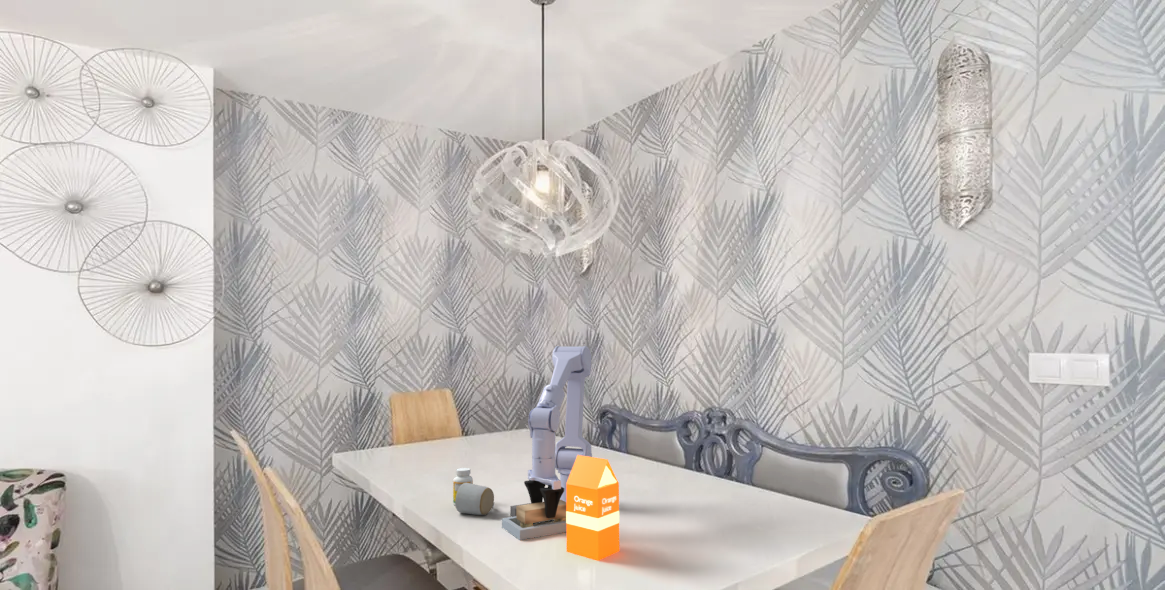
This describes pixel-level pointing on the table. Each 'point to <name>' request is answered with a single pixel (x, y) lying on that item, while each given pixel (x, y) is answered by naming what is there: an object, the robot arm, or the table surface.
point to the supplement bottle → (461, 480)
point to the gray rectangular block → (514, 510)
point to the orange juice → (592, 509)
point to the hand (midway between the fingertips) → (543, 513)
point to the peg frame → (533, 528)
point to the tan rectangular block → (538, 512)
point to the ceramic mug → (474, 499)
